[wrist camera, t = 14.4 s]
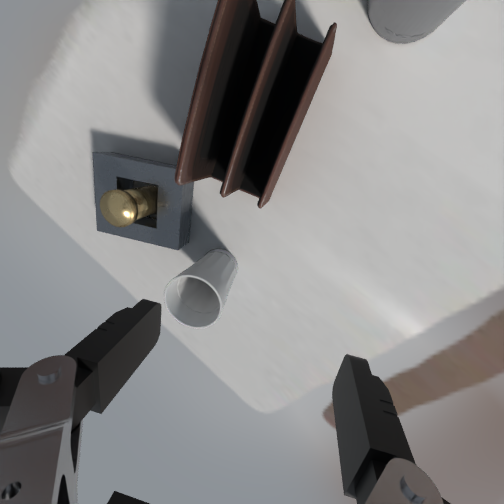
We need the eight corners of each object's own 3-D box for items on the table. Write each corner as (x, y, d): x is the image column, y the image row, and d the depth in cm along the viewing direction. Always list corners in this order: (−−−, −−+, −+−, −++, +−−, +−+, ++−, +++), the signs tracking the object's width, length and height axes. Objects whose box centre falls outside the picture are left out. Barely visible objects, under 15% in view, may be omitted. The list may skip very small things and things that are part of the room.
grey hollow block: (111, 152, 41) (92, 152, 37) (194, 169, 39) (183, 170, 35) (113, 224, 45) (97, 230, 41) (188, 242, 44) (178, 250, 40)
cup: (190, 252, 44) (153, 284, 33) (231, 237, 42) (205, 267, 31) (210, 291, 46) (180, 334, 35) (250, 279, 44) (232, 321, 33)
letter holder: (209, 175, 39) (163, 184, 26) (258, 20, 32) (227, -76, 19) (269, 201, 39) (252, 224, 26) (333, 51, 31) (354, -24, 18)
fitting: (138, 180, 42) (97, 186, 33) (167, 186, 41) (132, 194, 33) (138, 210, 43) (99, 223, 35) (165, 216, 43) (132, 231, 35)
